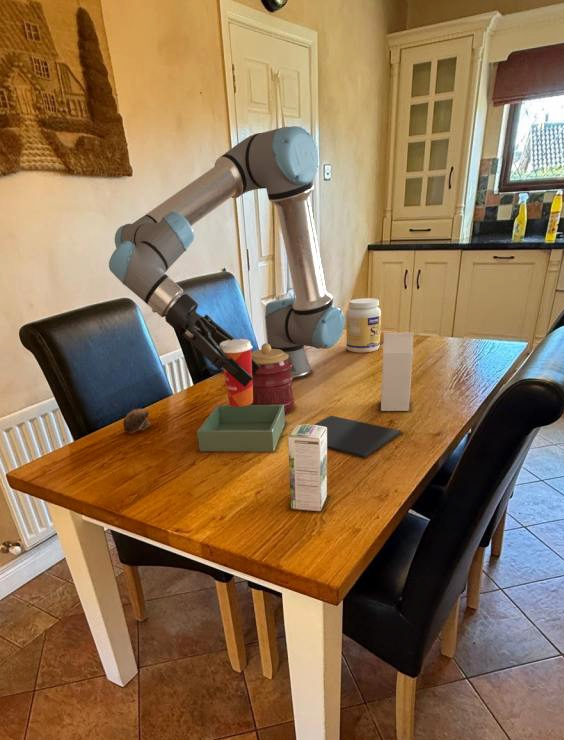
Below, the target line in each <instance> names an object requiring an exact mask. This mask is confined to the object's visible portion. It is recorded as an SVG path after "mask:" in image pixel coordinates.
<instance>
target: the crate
mask: <svg viewBox="0 0 564 740" xmlns="http://www.w3.org/2000/svg"><path fill="white" fill-rule="evenodd" d="M285 425H286V413H285V412H284V405H247V406H243V407H235V406H231V405H230V404H229V405H228V404H222V405H215V407H214V408H213V410H211V413H210V414H208V416H207V418H206V419H205V420H204V422H202V424H201V425H200V427H199V428H198V429H197V430H196V435H197V442H198V448H199V452H259V453H260V452H261V453H263V452H264V453H266V452H268V453H269V452H270V453H271V452H272V453H273V452H275V450H276V447H277V445H278V442H279V440H280V438H281V434H282V433H283V429H284V427H285Z"/></svg>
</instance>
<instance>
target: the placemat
mask: <svg viewBox="0 0 564 740" xmlns="http://www.w3.org/2000/svg"><path fill="white" fill-rule="evenodd" d="M313 425H318V426H324V427H327V449H330V450H332V451H337V452H340V453H344V454H348V455H352V456H356V457H359V458H363V459H365V458H366V457H367V456H370V454H372V453H374V452H375V451H376V450H378V449H380V448H381V447H382V446H384V445H385V444H387V443H388V442H390V441H391V440H393V439H395V438H396V437H397V436H399V435H400V434H401V430H398V429H394V428H389V427H385V426H380V425H376V424H372V423H366V422H363V421H357V420H353V419H348V418H344V417H339V416H334V415H330V416H328V417H325V418H323V419H322V420H320V421H318V422H317V423H314V424H313Z"/></svg>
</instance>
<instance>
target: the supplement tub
mask: <svg viewBox="0 0 564 740" xmlns="http://www.w3.org/2000/svg"><path fill="white" fill-rule="evenodd" d="M348 302H349V303H348V307H349V309H347V311H346V344H345V345H346V349H347V350H348V351H349V352H352V353H356V354H357V353H358V354H359V353H360V354H361V353H362V354H363V353H365V354H366V353H372V352H376V351H377V350H378V349H379V348H380V347H381V346H380V345H381V323H382V322H381V320H382V311H381V308H380V307H379V306H380V299H378V298H373V297H372V298H370V297H364V298H356V299H355V298H354V299H351V300H349V301H348Z"/></svg>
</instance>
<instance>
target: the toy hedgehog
mask: <svg viewBox="0 0 564 740" xmlns="http://www.w3.org/2000/svg"><path fill="white" fill-rule="evenodd" d="M149 415H150V414H149V411H148V410H147V409H145V408H135V409H132V410H131V411H129V412H127V414H126V415H125V417H124V419H123V425H122V426H123V428H124V430H125V432H126V433H127V434H134V433H136V432H137V431H139V430H140V431H146V430H147V429H148V428H149V427H151V426H152V425H153V423H152V422H149V421H148V420H147V418H148V417H149Z"/></svg>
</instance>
